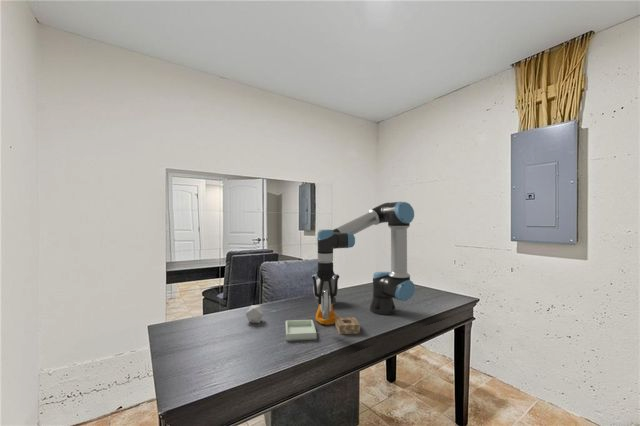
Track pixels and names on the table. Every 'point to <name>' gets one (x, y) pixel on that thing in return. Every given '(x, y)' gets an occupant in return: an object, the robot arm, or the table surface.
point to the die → (255, 314)
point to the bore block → (347, 325)
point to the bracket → (326, 321)
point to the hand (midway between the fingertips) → (325, 310)
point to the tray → (300, 330)
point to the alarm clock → (325, 287)
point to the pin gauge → (325, 304)
